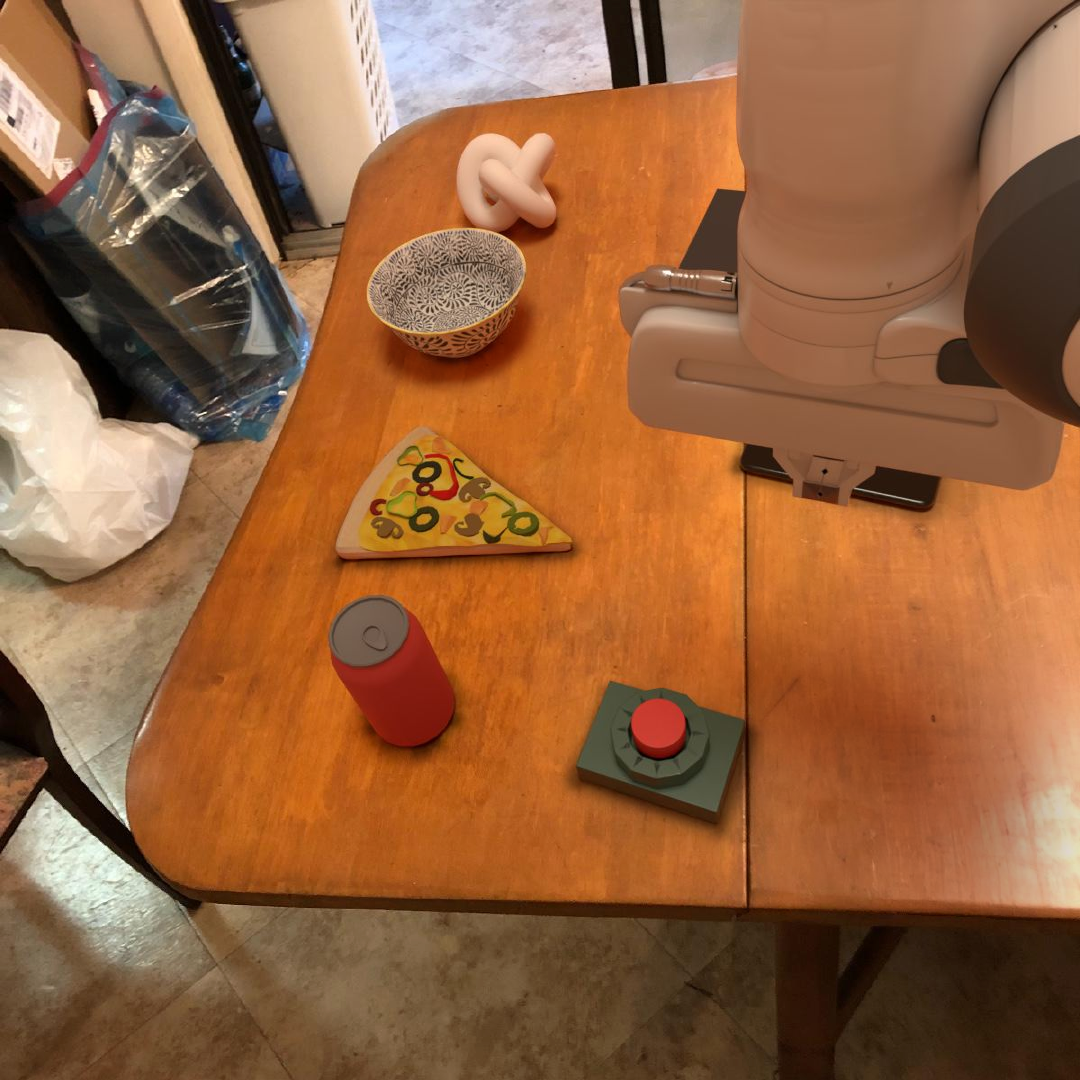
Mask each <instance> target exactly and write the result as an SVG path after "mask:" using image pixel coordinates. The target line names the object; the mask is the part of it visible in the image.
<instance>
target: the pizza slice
mask: <svg viewBox="0 0 1080 1080" xmlns="http://www.w3.org/2000/svg"><path fill="white" fill-rule="evenodd" d="M572 544H573V540H572V538H571V536H570V535H568V534H567V533H565V532H564V531H563V530H561V528H559V527H558V526H557V525H555V524H554V523H553V522H552V521H551V520H549V519H548V518H547V517H546V516H545V515H543V514H542V513H541V512H540V511H538V510H537V509H535V508H534V507H533V506H532V505H530V504H529V503H528V502H527V501H524V500H523V499H521V498H520V497H518V496H516V495H515V494H513V493H512V492H511V491H509V490H508V489H507V488H505V487H504V486H502V485H501V484H499V483H498V482H497V481H496V480H494V479H492V478H491V477H490V476H489V475H487V474H486V473H484V472H483V470H481V469H480V468H479V467H478V466H477V465H476V463H474V462H473V461H472V460H470V458H469V457H467V456H466V455H465V453H463V452H462V451H461V449H459V448H457V446H455V445H454V444H453V443H452V442H450V441H449V440H447V439H445V437H444V436H443V435H439V434H437V433H435V431H434V430H433V429H431V428H430V427H429V426H426V425H420V426H418V427H415V428H414V429H413V430H412V431H410V432H409V433H408V434H407V435H406V436H404V437H403V438H402V439H401V440H400V441H399V442H398V443H396V444H395V446H393V448H392V449H390V451H388V452H387V454H385V455H384V457H383V458H382V459H381V460H380V461H379V463H377V465H376V466H375V467H374V468H373V470H372V471H371V472H370V474H369V475H368V476H367V478H366V479H365V480H364V482H363V483H362V484H361V486H360V488H359V490H358V491H357V493H356V494H355V496H354V497H353V500H352V502H351V504H350V506H349V509H348V511H347V514H346V515H345V518H344V520H343V522H342V524H341V527H340V530H339V532H338V535H337V538H336V541H335V552H336V554H337V555H338V556H339V557H340V558H342V559H345V560H359V559H361V560H362V559H388V558H389V559H390V558H393V559H394V558H395V559H396V558H422V557H424V558H425V557H427V558H429V557H447V556H467V555H468V556H469V555H470V556H471V555H473V556H474V555H502V554H518V553H519V554H520V553H537V552H539V553H540V552H541V553H543V552H565V551H566V552H567V551H570V550H571V549H572V546H571V545H572Z"/></svg>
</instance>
